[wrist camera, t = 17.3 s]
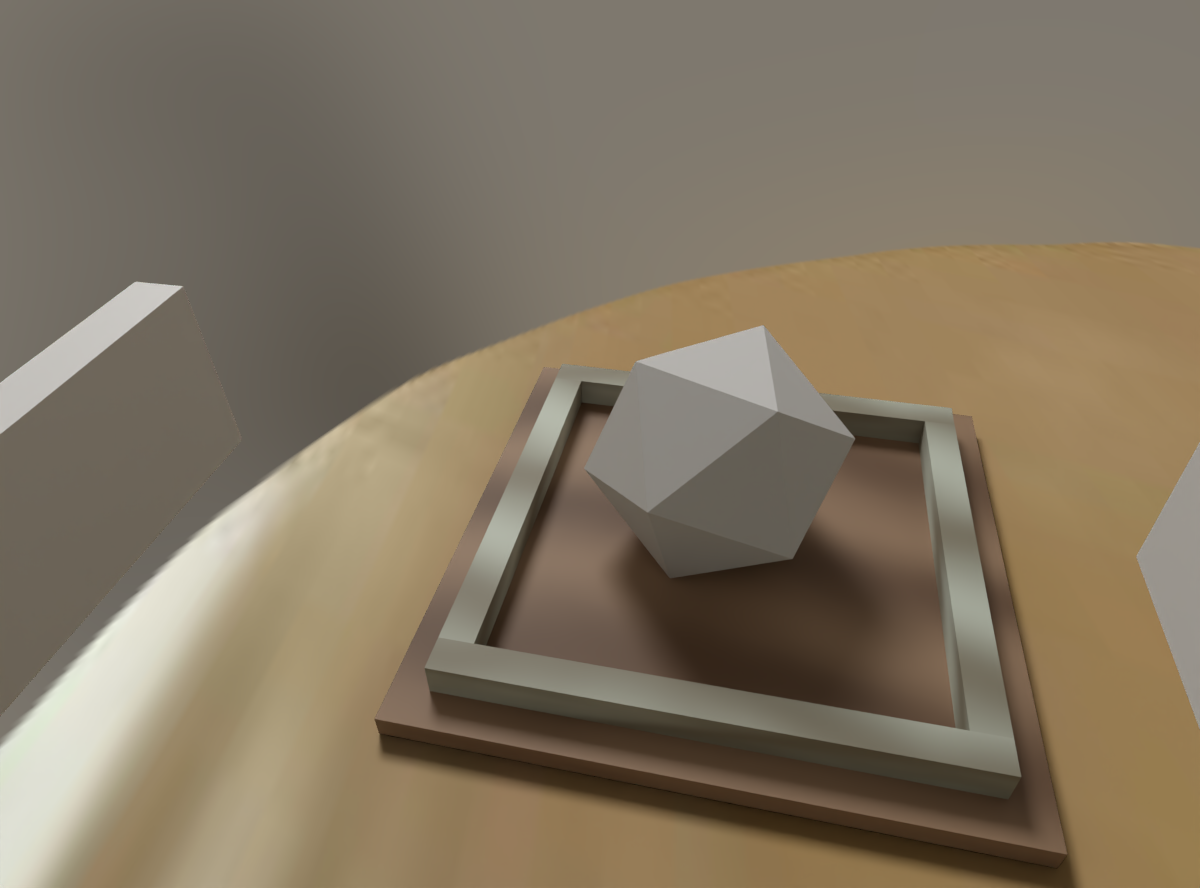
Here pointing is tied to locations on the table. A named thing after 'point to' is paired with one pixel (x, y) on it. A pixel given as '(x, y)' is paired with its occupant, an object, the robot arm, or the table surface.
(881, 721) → the dice tray
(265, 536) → the table surface
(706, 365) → the die
